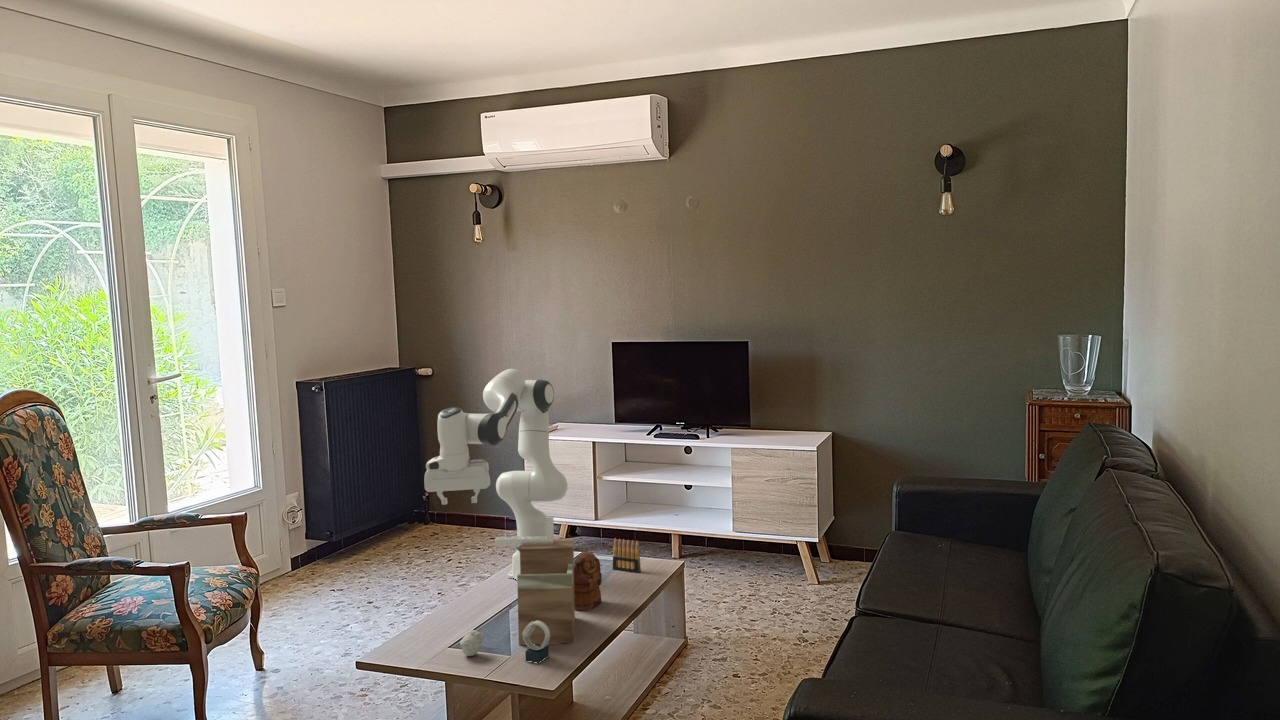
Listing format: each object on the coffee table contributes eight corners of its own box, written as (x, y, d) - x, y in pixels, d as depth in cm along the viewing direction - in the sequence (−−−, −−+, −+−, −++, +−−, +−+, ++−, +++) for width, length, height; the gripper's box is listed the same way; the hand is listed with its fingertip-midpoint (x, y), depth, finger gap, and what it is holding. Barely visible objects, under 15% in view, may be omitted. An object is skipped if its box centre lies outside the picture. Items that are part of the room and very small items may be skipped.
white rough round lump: (487, 654, 254) (487, 631, 254) (467, 662, 250) (466, 638, 249) (475, 648, 259) (475, 625, 258) (455, 655, 254) (454, 632, 253)
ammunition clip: (612, 569, 327) (612, 538, 326) (614, 568, 329) (614, 536, 328) (638, 573, 323) (638, 541, 322) (640, 571, 325) (640, 540, 324)
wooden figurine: (585, 613, 285) (584, 559, 283) (569, 609, 288) (568, 556, 286) (605, 601, 295) (604, 549, 293) (590, 598, 298) (589, 546, 296)
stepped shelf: (524, 619, 281) (522, 539, 278) (574, 617, 281) (573, 538, 279) (518, 645, 261) (516, 559, 258) (573, 643, 261) (571, 558, 259)
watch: (530, 652, 255) (529, 616, 254) (554, 657, 252) (553, 620, 251) (519, 660, 250) (518, 623, 249) (543, 665, 247) (543, 627, 246)
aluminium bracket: (495, 543, 274) (495, 518, 273) (553, 542, 275) (553, 516, 274) (494, 546, 271) (494, 520, 271) (553, 544, 272) (552, 519, 271)
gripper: (490, 455, 277) (494, 498, 279) (426, 459, 278) (430, 501, 280) (486, 461, 270) (490, 504, 273) (420, 465, 271) (425, 508, 273)
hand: (459, 503), depth 276 cm, fingers open, 8 cm apart
